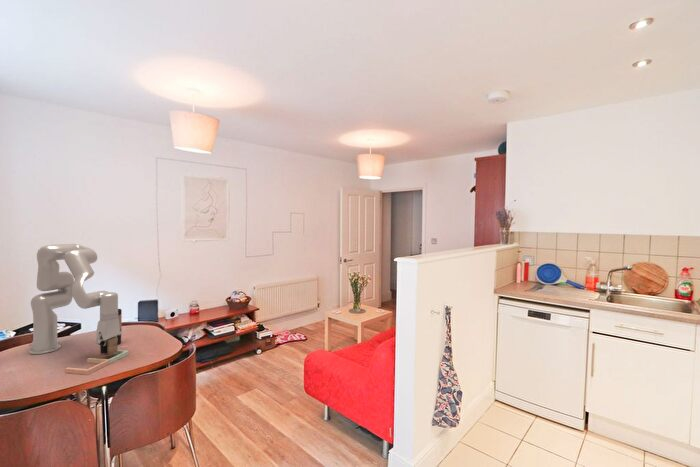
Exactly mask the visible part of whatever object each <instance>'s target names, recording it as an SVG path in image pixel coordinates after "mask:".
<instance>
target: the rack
mask: <svg viewBox="0 0 700 467" xmlns="http://www.w3.org/2000/svg"><path fill="white" fill-rule="evenodd" d="M129 352H130V351H129V350H122V349H117V352H116V353H113V354H112V355H115V356H113V357H110V358H97V357H96V358H95V357H89V358H88V357H87V359H86V362H87V364H96V365H94V366H92V367H89V368H88V369H87V368H78V367H77V368H76V367H75V368H74V367H66V368H64V373H65V374H73V375H84V376H85V375H87V376H88V375H90V374H92V373H94V372H96V371H99V370H100V369H102V368H104V367H106V366H108V365H111V364H113V363H114V362H116V361H119V360H120V359H122V358H124V357H126V356H128V355H129V354H130V353H129ZM129 356H130V355H129Z"/></svg>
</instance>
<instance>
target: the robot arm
mask: <svg viewBox="0 0 700 467" xmlns="http://www.w3.org/2000/svg"><path fill="white" fill-rule="evenodd" d="M63 260H64V262H65V264H66V265H67V267H68V269H69V271H70V272H69V271H60V268H61V267H60V264H59V262H58V261H63ZM97 261H98V254H97V252H96V251H95V250H94V249H92V248H90V247H88V246H84V245H81V244H77V243H64V244H62V243H61V244H58V243H57V244H49V245H44V246H41V247H40V248H39V249H38V250H37V253H36V262H37V275H36V289H37V290H38V291H41V292H43V293H40V294H36V295H35V296H33V297H32V298H31V299H30V300H31V301H30V307H31V310H32V317H33V318H32V319H33V320H32V321H33V322H32V324H33V325H32V326H33V327H32V329H33V330H32V331H33V334H32V335H33V336H32V337H33V338H32V342H31V343H28V346H29V347H31V349H29V351H28V353H29V354H30V355H43V354H48V353H51V352H55V351H57V350H59V349H61V348H62V345H61V344H60V343H58V314H56V312H54V310H55V309H59V308H63V307H67V306H69V305H70V304H71V303H72V300H74V302H75V303H76V305H77V307H79V308H81V309H84V310H85V309H90V308H95V307H99V320H98V322H97V326H96V336H95V341H94V342H95V344H98V345H99V346H101V353H107V345H106V344H107V339H110V338H112V337H117V341H118V337H119V335H120V334H121V335H122V330H121V331H120V323H119V318H118V309H119V294H118V292H112V291H111V292H109V291H107V290H99V291H94V292H89V293H87V292H86V291H85V288H84V282H86V281H87V280H89V279H91V278H92V277H93V276H94V275H95V271H94V269H93V267H92V266H91V264H94V263H96V262H97ZM103 341H104V343H103Z"/></svg>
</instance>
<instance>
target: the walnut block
mask: <svg viewBox="0 0 700 467" xmlns="http://www.w3.org/2000/svg"><path fill="white" fill-rule="evenodd" d="M103 343H104V341H103ZM106 345H107V353H101V346H100V345H99V346H100V350H99V352H100V355H101V356H112V355H114V354H113V353H116V352H117V350H118V345H117V337H112V338H110V339H107V344H106Z"/></svg>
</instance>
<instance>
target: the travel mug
mask: <svg viewBox="0 0 700 467" xmlns="http://www.w3.org/2000/svg"><path fill="white" fill-rule="evenodd" d="M122 312H123V311H122V309H121V308H118V318H119V323H120V331H121V332H122V326H123V325H122V317H123V316H122ZM121 343H122V333H121V334H120V335H119V337H118V341H117V346H119V345H120V344H121Z"/></svg>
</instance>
